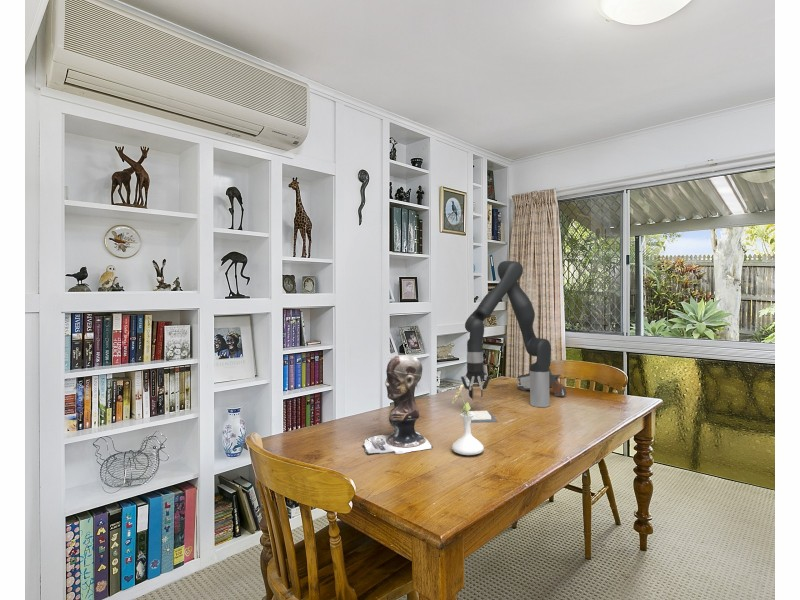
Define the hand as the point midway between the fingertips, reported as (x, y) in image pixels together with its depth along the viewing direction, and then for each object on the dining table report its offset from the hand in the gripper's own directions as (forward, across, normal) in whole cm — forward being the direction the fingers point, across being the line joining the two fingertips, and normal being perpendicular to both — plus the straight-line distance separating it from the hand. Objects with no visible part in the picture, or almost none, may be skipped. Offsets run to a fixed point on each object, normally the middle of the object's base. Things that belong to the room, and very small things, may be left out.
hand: (475, 397), depth 209 cm
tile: (+6, 0, +3) cm, 7 cm away
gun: (+8, -42, -38) cm, 58 cm away
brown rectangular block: (+1, 0, 0) cm, 1 cm away
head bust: (+8, +38, +38) cm, 54 cm away
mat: (+8, 0, +6) cm, 10 cm away
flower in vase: (+8, +12, +49) cm, 51 cm away
